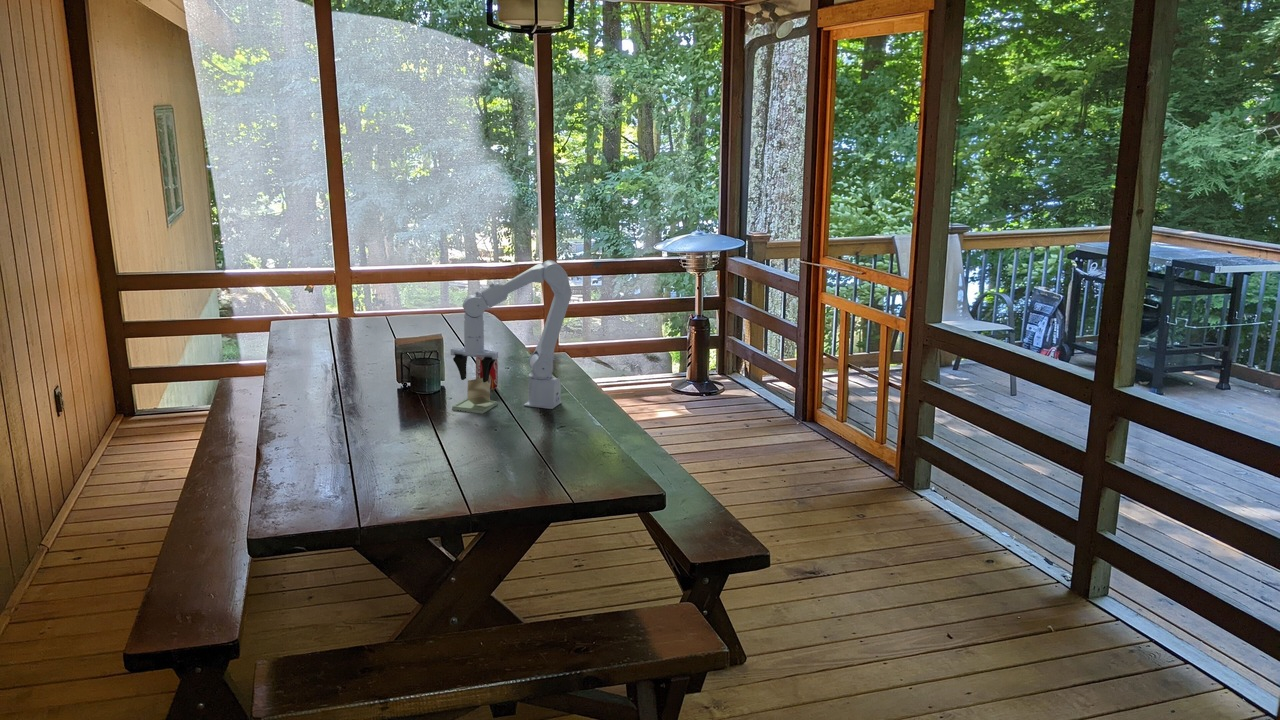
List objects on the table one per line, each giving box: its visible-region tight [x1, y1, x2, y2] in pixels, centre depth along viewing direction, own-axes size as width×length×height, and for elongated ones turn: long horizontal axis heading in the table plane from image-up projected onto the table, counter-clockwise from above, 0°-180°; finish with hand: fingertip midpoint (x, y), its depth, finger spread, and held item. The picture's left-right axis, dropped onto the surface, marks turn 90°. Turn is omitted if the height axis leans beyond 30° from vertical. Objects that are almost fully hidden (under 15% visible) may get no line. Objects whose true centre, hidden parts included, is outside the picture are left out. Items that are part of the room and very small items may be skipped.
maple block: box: [466, 378, 491, 405], centre depth 279 cm, size 5×5×6 cm
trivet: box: [451, 398, 498, 415], centre depth 281 cm, size 10×10×1 cm
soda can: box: [475, 357, 499, 392], centre depth 300 cm, size 7×7×12 cm
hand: (474, 380), depth 279 cm, fingers open, 7 cm apart
